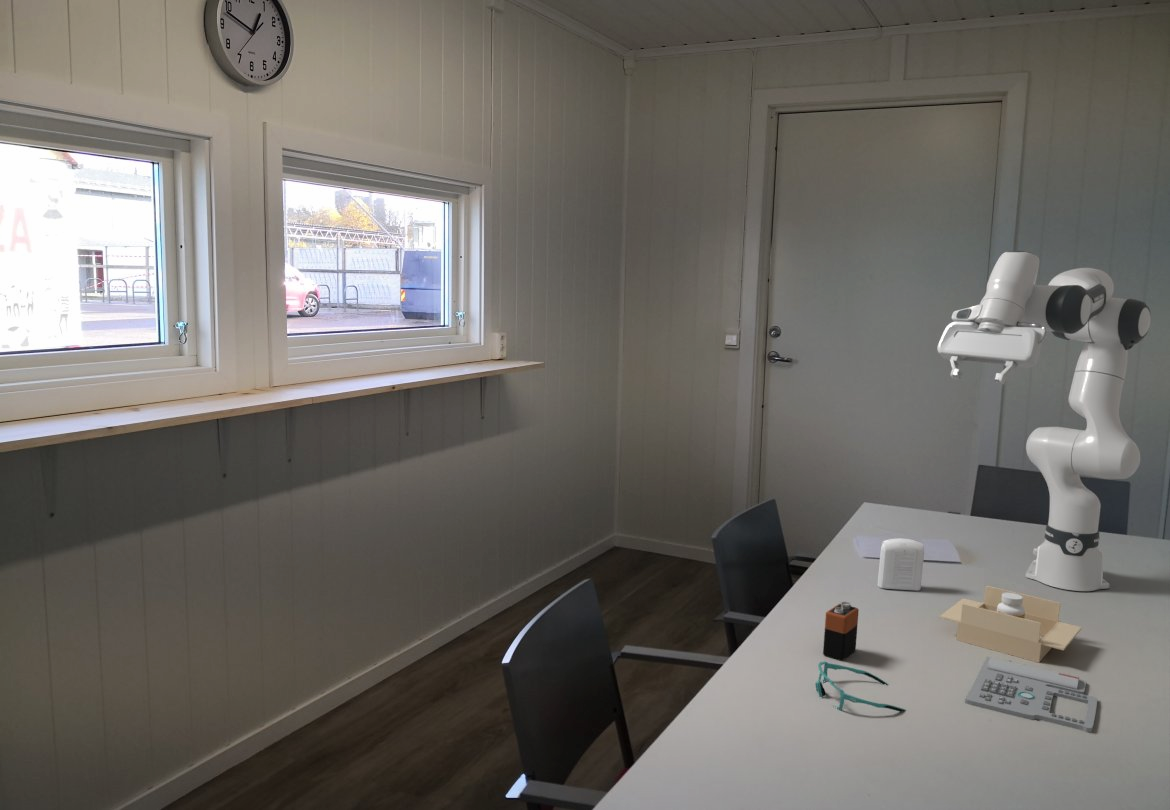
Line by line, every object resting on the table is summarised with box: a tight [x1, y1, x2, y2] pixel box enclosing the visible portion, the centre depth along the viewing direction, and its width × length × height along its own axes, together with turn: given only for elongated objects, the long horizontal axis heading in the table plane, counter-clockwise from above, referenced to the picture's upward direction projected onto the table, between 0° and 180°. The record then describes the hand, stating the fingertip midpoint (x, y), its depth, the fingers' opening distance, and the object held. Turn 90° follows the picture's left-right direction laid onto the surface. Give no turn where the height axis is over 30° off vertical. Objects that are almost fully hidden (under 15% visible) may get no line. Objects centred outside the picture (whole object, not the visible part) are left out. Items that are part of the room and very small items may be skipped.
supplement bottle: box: [997, 593, 1025, 619], centre depth 191 cm, size 5×5×10 cm
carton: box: [939, 585, 1083, 663], centre depth 191 cm, size 16×24×8 cm, turn 50°
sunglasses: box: [814, 661, 907, 713], centre depth 164 cm, size 14×15×5 cm
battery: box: [822, 601, 860, 661], centre depth 182 cm, size 4×7×10 cm, turn 142°
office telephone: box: [964, 656, 1098, 734], centre depth 167 cm, size 23×3×20 cm
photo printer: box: [877, 537, 925, 592], centre depth 222 cm, size 10×4×12 cm, turn 86°
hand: (976, 380), depth 187 cm, fingers open, 8 cm apart
